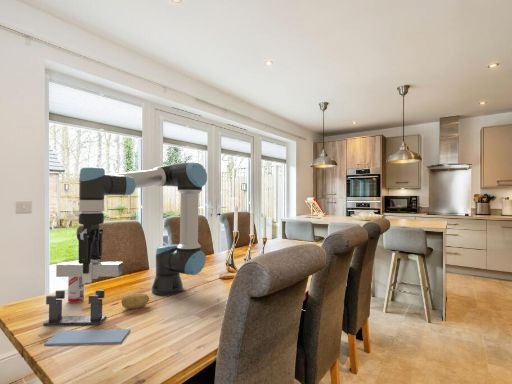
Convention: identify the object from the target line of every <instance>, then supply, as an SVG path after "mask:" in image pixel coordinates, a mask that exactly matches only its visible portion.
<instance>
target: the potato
mask: <svg viewBox="0 0 512 384" xmlns="http://www.w3.org/2000/svg"><path fill="white" fill-rule="evenodd" d="M149 301H150V297H149V295H148V294H147V293H140V292H131V293H126V294H124V295H123V297H122V298H121V301H120V303H121V305H122V307H123V308H124V309H131V310H132V309H133V310H134V309H140V308H143V307H146V305H147V304H148V303H149Z"/></svg>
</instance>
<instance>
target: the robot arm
mask: <svg viewBox="0 0 512 384" xmlns="http://www.w3.org/2000/svg"><path fill="white" fill-rule="evenodd" d="M78 178H79V180H78V182H79V190H78V191H79V193H78V195H79V196H78V197H79V198H78V199H79V202H78V206H79V207H78V210H79V212H80V213H79V214H78V224H79V225H82V232H81V233H80V232H78V234H77V239H78V262H79V264H83V269H82V283H84V284H91V283H92V282H93V281H92V280H95V279H96V280H97V279H99V277H92V263H91V262H99V260H101V259H102V254H103V235H104V234H103V233H104V229H103V228H100V225H103V224H104V222H105V214H104V211H105V196H124V197H125V196H131V195H132V194H134V192H135V190H136V189H140V188H147V187H153V186H156V187H177V192H179V194H180V207H179V208H180V210H179V211H180V214H179V215H180V217H179V218H180V220H179V222H180V223H179V243H178V244H177V243H176V244H166V245H161V246H157V248H156V250H155V278H154V280H153V283H152V286H151V293H152V294H154V295H156V296H171V295H176V294H179V293H181V292H182V291H183V290H184V286H183V281H182V279H181V275H180V274H183V275H186V276H190V275H191V276H196V275H198V274H200V273H201V272H202V271H203V269H204V267H205V265H206V260H207V258H206V257H207V255H206V254H205V252H203V250H202V245H201V244H200V243H199V197H200V193H202V191H203V189H202V188H203V187H204V186H206V183H207V181H208V174H207V171H206V168H205V167H204V166H203V165H202V164H201V163H197V162H181V163H172V164H166V165H162V166H156V167H154V168H153V169H147V170H146V169H145V170H136V171H135V170H134V171H127V172H119V173H108V174H107V173H106V171H105V169H104V167H97V166H96V167H95V166H94V167H93V166H87V167H86V166H85V167H84V166H83V167H81V169H80V171H79V177H78Z"/></svg>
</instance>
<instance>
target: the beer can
mask: <svg viewBox="0 0 512 384" xmlns="http://www.w3.org/2000/svg"><path fill="white" fill-rule="evenodd" d="M67 278H68V282H67V283H68V284H67V286H68V290H67V302H69V303H70V304H76V303H80V302H82V301H83V300H84V299H85V283H82V277H67Z"/></svg>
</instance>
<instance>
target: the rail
mask: <svg viewBox="0 0 512 384" xmlns="http://www.w3.org/2000/svg"><path fill="white" fill-rule="evenodd" d="M91 263H92V277H98V278H99V277H119V276H121V275H122V274H123V270H124V268H123V267H124V262H123V261H98V262H91ZM55 265H56V270H55V271H56V272H55V273H56V274H55V276H56V278H57V277H59V278H64V277H65V278H66V277H67V278H68V277H82V269H83V264H79V261H63V262H60V263H57V264H55Z"/></svg>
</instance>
